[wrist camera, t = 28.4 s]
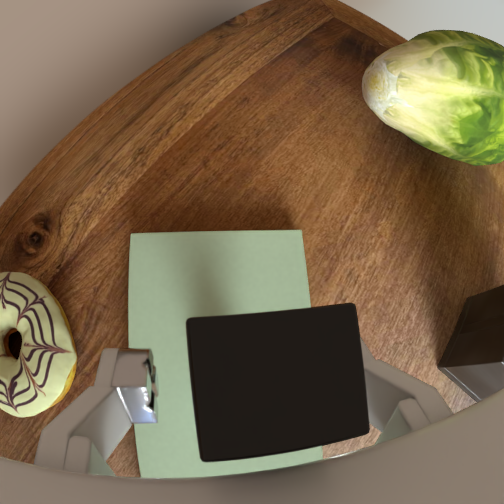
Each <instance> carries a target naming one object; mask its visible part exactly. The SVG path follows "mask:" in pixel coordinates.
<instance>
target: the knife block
mask: <svg viewBox="0 0 504 504" xmlns="http://www.w3.org/2000/svg"><path fill="white" fill-rule="evenodd" d="M437 368H438V369H439V370H440V371H442V372H443V373H444V374H445V375H446V376H447V377H449V378H450V379H451V380H452V381H453V382H454V383H456V384H457V385H458V386H459V387H460V388H461V389H462V390H464V391H465V392H466V393H467V394H468V395H469V396H470V397H472V398H473V399H474V400H475V401H476V402H479V401H481V400H483V399H485V398H486V397H488V396H490V395H492V394H494V393H495V392H497V391H499V390H501V389H502V388H504V285H501V286H499V287H496V288H493V289H491V290H488V291H485V292H483V293H480V294H477V295H474V296H471V297H468V298H467V299H466V302H465V305H464V307H463V310H462V313H461V315H460V318H459V320H458V323H457V325H456V327H455V330H454V332H453V335H452V337H451V339H450V341H449V344H448V346H447V348H446V350H445V352H444V355H443V357H442V359H441V361H440V363H439V365H438V367H437Z"/></svg>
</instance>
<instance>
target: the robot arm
mask: <svg viewBox="0 0 504 504" xmlns="http://www.w3.org/2000/svg"><path fill="white" fill-rule="evenodd" d="M360 339H361V347H362V355H363V363H364V372H365V381H366V391H367V402H368V414H369V423H370V424H372V425H373V426H374V427H376V428H377V429H378V430H380V431H381V432H382V433H381V434H380V436H379V438H378V439H377V441H376V443H375V444H374V445H372V446H369V447H366V448H363V449H359V450H356V451H352V452H349V453H345V454H341V455H337V456H334V457H330V458H325V459H321V460H317V461H312V462H308V463H303V464H298V465H293V466H287V467H282V468H276V469H270V470H263V471H256V472H248V473H240V474H230V475H219V476H206V477H185V478H141V477H121V476H116V475H115V474H114V472H113V471H112V470H111V468H110V467H109V466H108V464H107V463H106V460H107V459H108V457H109V456H110V455H111V453H112V452H113V450H114V449H115V448H116V446H117V445H118V444H119V442H120V441H121V439H122V438H123V437H124V435H125V434H126V432H127V431H128V430H129V428H130V427H131V426H132V424H143V423H158V403H157V400H156V398H157V397H158V396H159V382H158V374H157V369H156V367H155V366H154V365H153V359H154V357H153V353H152V349H151V348H104V350H103V351H102V354H101V358H100V362H99V366H98V370H97V374H96V378H95V383H94V386H89V387H88V388H87V389H86V390H85V391H84V392H83V393H82V394H80V395H79V396H78V397H77V398H76V399H75V400H74V401H73V402H72V403H71V404H70V405H69V406H67V407H66V408H65V409H64V410H63V411H62V412H61V413H60V414H59V415H58V416H57V417H56V418H54V419H53V420H52V421H51V422H50V423H49V424H48V425H47V426H46V427H45V428H44V429H43V430H42V432H41V436H40V439H39V443H38V447H37V452H36V456H35V460H34V465H33V464H29V463H24V462H20V461H16V460H12V459H8V458H5V457H1V456H0V504H504V388H502V389H501V390H499V391H497V392H495V393H494V394H492V395H490V396H488V397H486V398H485V399H483V400H481V401H479V402H477V403H475V404H473V405H471V406H469V407H467V408H465V409H463V410H461V411H459V412H457V413H455V414H453V412H452V411H451V409H450V408H449V407H448V405H447V404H446V402H445V401H444V399H443V398H442V396H441V395H440V394H439V392H438V391H437V389H436V388H434V387H432V386H430V385H428V384H427V383H425V382H423V381H421V380H419V379H417V378H415V377H413V376H411V375H409V374H407V373H405V372H403V371H401V370H399V369H397V368H395V367H393V366H391V365H390V364H388V363H386V362H384V361H382V360H380V359H378V360H375V358H374V357H373V355H372V354H371V352H370V351H369V349H368V347H367V346H366V344H365V343H364V341H363V340H362V338H361V337H360Z"/></svg>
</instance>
